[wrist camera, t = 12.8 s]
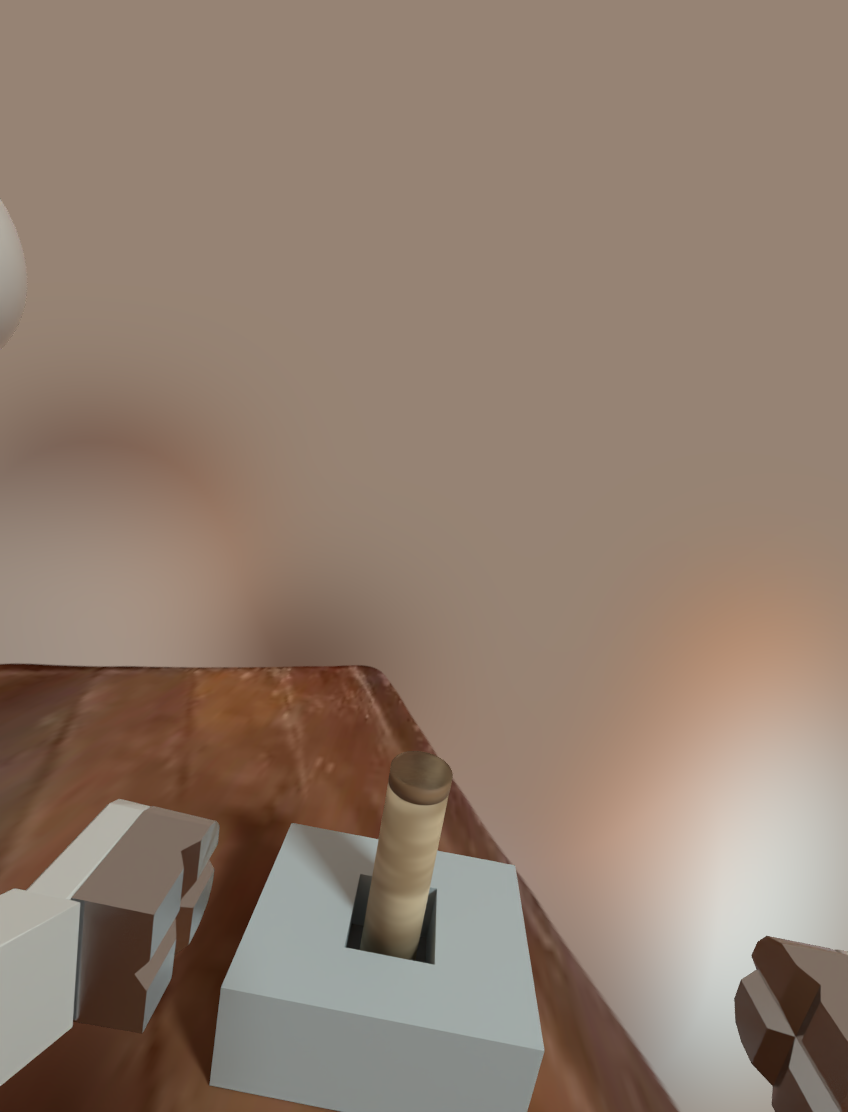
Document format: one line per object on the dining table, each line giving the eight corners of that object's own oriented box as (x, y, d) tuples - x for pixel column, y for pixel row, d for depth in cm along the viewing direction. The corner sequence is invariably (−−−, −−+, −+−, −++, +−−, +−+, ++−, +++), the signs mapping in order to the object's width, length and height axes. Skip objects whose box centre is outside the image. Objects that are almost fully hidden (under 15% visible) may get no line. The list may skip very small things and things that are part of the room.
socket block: (209, 1085, 23) (221, 987, 22) (281, 896, 33) (291, 822, 32) (517, 1146, 23) (544, 1050, 22) (496, 938, 33) (515, 865, 32)
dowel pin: (345, 978, 27) (380, 773, 24) (373, 931, 29) (406, 744, 27) (398, 1009, 25) (439, 799, 23) (421, 958, 28) (460, 765, 26)
